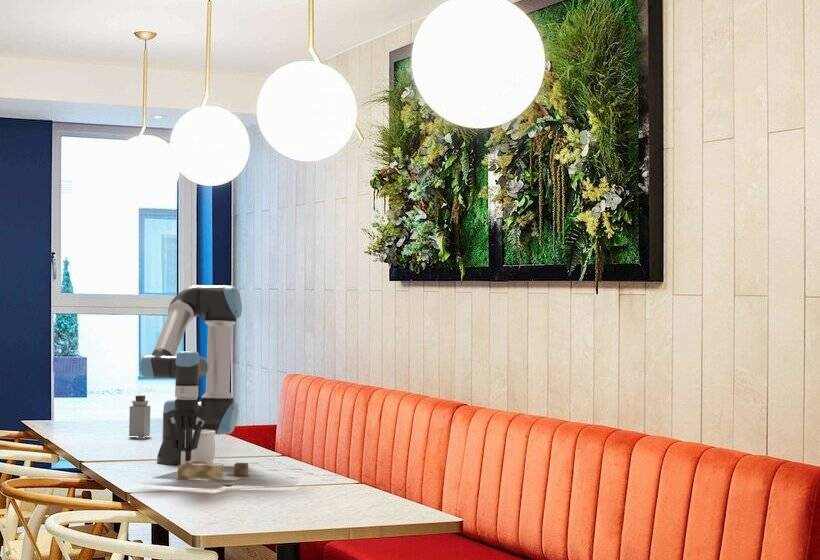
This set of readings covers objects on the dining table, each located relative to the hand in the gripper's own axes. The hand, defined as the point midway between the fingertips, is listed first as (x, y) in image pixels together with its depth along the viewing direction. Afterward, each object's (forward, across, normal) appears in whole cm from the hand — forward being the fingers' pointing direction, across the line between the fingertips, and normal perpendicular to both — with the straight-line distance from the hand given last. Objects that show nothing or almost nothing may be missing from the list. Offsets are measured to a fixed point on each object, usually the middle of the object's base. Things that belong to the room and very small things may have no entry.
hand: (184, 470), depth 365 cm
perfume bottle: (+3, -75, +102) cm, 127 cm away
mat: (+3, +7, 0) cm, 7 cm away
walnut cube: (+2, +17, +7) cm, 18 cm away
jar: (+3, -1, +13) cm, 13 cm away
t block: (+2, +7, 0) cm, 7 cm away
